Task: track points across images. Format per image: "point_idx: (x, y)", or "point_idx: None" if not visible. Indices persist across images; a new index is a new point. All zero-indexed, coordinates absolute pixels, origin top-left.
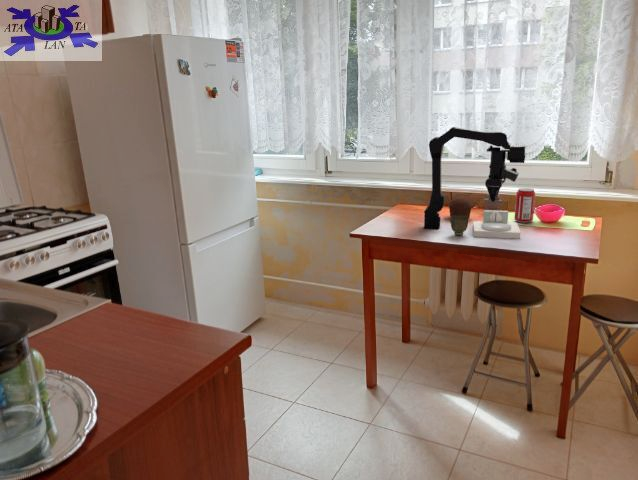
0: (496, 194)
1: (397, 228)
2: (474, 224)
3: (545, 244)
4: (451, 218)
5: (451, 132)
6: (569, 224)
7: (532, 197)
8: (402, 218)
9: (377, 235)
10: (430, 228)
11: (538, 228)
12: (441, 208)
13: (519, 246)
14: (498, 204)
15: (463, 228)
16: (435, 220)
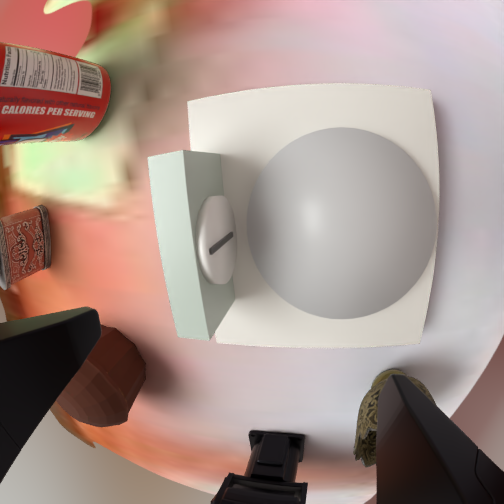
0: (75, 335)
1: None
2: (285, 344)
3: (463, 21)
4: None
5: None
6: None
7: (8, 45)
8: (195, 472)
9: (368, 499)
10: (303, 450)
11: (189, 18)
12: (298, 502)
13: None
14: (10, 228)
15: (428, 391)
16: (291, 464)
